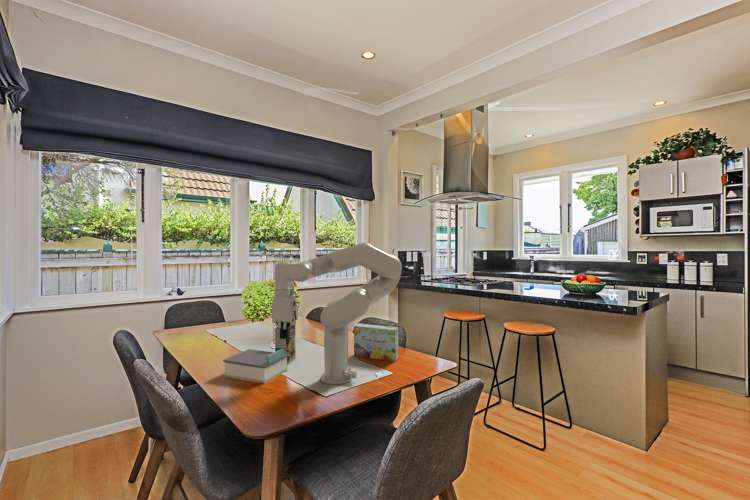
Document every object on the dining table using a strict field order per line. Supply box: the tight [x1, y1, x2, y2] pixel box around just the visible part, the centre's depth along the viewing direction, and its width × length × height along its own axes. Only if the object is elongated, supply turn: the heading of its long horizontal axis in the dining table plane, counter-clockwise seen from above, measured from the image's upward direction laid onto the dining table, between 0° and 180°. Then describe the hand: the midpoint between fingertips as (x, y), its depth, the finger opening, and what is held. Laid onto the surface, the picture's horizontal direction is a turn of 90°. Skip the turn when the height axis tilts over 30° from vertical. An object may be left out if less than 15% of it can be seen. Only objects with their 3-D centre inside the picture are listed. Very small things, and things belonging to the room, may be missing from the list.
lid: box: [222, 348, 288, 368], centre depth 158 cm, size 21×16×4 cm
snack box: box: [353, 323, 399, 362], centre depth 179 cm, size 21×6×15 cm, turn 68°
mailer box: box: [224, 357, 288, 384], centre depth 159 cm, size 20×15×6 cm
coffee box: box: [274, 324, 297, 365], centre depth 174 cm, size 9×6×16 cm
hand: (283, 338), depth 153 cm, fingers closed
